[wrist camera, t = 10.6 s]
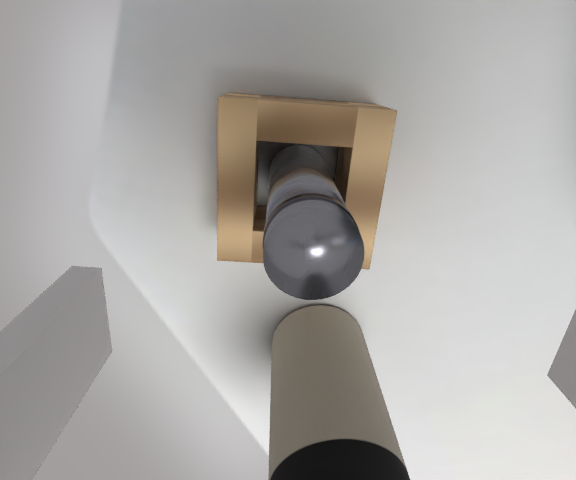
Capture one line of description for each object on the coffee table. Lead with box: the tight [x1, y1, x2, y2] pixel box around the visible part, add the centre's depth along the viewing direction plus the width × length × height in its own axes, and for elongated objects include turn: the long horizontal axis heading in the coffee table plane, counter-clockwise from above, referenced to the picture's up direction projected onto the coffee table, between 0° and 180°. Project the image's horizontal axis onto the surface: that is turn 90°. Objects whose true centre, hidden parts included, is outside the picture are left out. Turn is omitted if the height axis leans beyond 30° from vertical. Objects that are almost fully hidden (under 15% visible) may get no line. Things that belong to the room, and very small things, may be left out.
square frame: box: [217, 93, 397, 269], centre depth 26 cm, size 10×10×5 cm
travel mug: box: [269, 305, 410, 480], centre depth 26 cm, size 8×8×18 cm
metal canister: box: [263, 145, 365, 300], centre depth 22 cm, size 4×4×14 cm
